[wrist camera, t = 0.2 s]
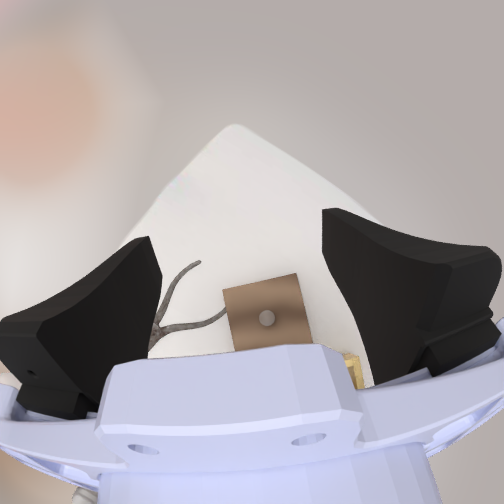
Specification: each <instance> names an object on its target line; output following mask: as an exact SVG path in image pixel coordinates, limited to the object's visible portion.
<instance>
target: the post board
mask: <svg viewBox="0 0 504 504" xmlns="http://www.w3.org/2000/svg"><path fill="white" fill-rule="evenodd" d="M222 291H223V296H224V301H225V306H226V311H227V315H228V320H229V325H230V330H231V334H232V339H233V344H234V348H235V351H242V350H249V349H257V348H263V347H270V346H276V345H282V344H313V342H312V338H311V333H310V329H309V325H308V320H307V316H306V312H305V307H304V303H303V299H302V295H301V291H300V287H299V283H298V279H297V275H296V273H294V274H290V275H286V276H281V277H277V278H273V279H268V280H264V281H260V282H255V283H251V284H246V285H242V286H237V287H232V288H228V289H223V290H222Z"/></svg>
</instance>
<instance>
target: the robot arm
mask: <svg viewBox="0 0 504 504" xmlns="http://www.w3.org/2000/svg"><path fill="white" fill-rule="evenodd" d="M322 253H323V256H324V258H325V261H326V264H327V266H328V269H329V271H330V273H331V275H332V277H333V278H334V280H335V282H336V284H337V286H338V288H339V289H340V291H341V293H342V295H343V297H344V298H345V300H346V302H347V304H348V306H349V308H350V310H351V312H352V314H353V316H354V319H355V321H356V324H357V327H358V330H359V332H360V335H361V338H362V341H363V344H364V347H365V350H366V354H367V357H368V361H369V364H370V368H371V372H372V375H373V380H374V384H375V386H373V387H369V388H364V389H355V388H354V385H353V382H352V380H351V377H350V374H349V372H348V369H347V366H346V364H345V361H344V358H343V356H342V354H341V353H339V352H337V351H335V350H332V349H330V348H328V347H326V346H324V345H321V344H316V343H313V344H282V345H276V346H270V347H263V348H257V349H249V350H242V351H234V352H226V353H217V354H207V355H197V356H185V357H171V358H153V359H147V358H148V347H149V341H150V336H151V331H152V327H153V323H154V319H155V315H156V311H157V307H158V303H159V299H160V295H161V287H162V273H161V270H160V267H159V265H158V262H157V259H156V256H155V253H154V250H153V247H152V244H151V241H150V238H149V236H146V237H140V238H136V239H134V240H132V241H130V242H129V243H127V244H126V245H125V246H123V247H122V248H121V249H119V250H118V251H117V252H116V253H114V254H113V255H112V256H111V257H109V258H108V259H107V260H106V261H104V262H103V263H102V264H101V265H99V266H98V267H97V268H95V269H94V270H93V271H92V272H90V273H89V274H88V275H86V276H85V277H83V278H82V279H81V280H79V281H78V282H76V283H74V284H73V285H72V286H70V287H68V288H67V289H65V290H63V291H62V292H60V293H58V294H56V295H54V296H53V297H51V298H49V299H47V300H45V301H43V302H41V303H39V304H37V305H35V306H32V307H30V308H28V309H25V310H23V311H20V312H18V313H15V314H12V315H9V316H6V317H4V318H3V319H2V320H1V321H0V360H1V362H2V363H3V364H4V365H5V366H6V367H7V368H8V370H9V371H10V372H11V373H12V374H13V375H14V376H15V377H16V378H17V379H18V380H19V382H20V383H22V385H21V388H20V390H18V389H17V388H15V387H13V386H10V385H6V384H2V383H0V449H1V450H3V451H4V452H6V453H7V454H9V455H10V456H12V457H13V458H15V459H16V460H18V461H20V462H22V463H23V464H25V465H27V466H29V467H31V468H34V469H36V470H38V471H41V472H43V473H45V474H47V475H50V476H52V477H55V478H58V479H60V480H63V481H65V482H68V483H70V484H73V485H76V486H79V487H82V488H85V489H88V490H91V491H95V492H98V498H97V504H443V503H442V500H441V497H440V494H439V491H438V488H437V484H436V482H435V478H434V476H433V473H432V470H431V467H430V464H429V462H428V459H427V458H429V457H431V456H433V455H435V454H436V453H438V452H440V451H442V450H443V449H445V448H447V447H449V446H450V445H452V444H453V443H455V442H457V441H458V440H460V439H461V438H463V437H464V436H466V435H468V434H469V433H470V432H472V431H473V430H475V429H476V428H478V427H479V426H481V425H482V424H483V423H485V422H486V421H487V420H489V419H490V418H491V417H493V416H494V415H495V414H497V413H498V412H499V411H500V410H502V409H503V408H504V317H503V318H502V319H500V320H499V321H498V322H497V323H496V324H494V323H493V322H492V320H491V319H490V318H492V316H493V312H492V310H491V309H490V308H489V307H488V306H489V304H490V302H491V300H492V298H493V295H494V293H495V291H496V289H497V286H498V284H499V281H500V278H501V272H502V264H501V259H500V258H499V256H498V255H497V254H496V253H494V252H493V251H492V250H491V249H490V248H488V247H486V246H470V245H457V244H450V243H443V242H437V241H432V240H427V239H423V238H419V237H415V236H411V235H408V234H404V233H401V232H398V231H395V230H392V229H390V228H387V227H384V226H382V225H379V224H377V223H374V222H372V221H369V220H367V219H365V218H362V217H360V216H358V215H355V214H353V213H351V212H348V211H345V210H343V209H339V208H330V209H322Z"/></svg>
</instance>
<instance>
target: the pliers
mask: <svg viewBox="0 0 504 504" xmlns="http://www.w3.org/2000/svg"><path fill="white" fill-rule="evenodd" d="M200 263H201V261H200V260H198V261H196V262H194V263H192V264H190V265H189V266H187V267H186V268H185V269H183V270H182V271H181V272H180V273H179V274H178V275H177V276H176V277H175V279H174V280H173V281H172V283H171V285H170V287H169V288H168V291H167V293H166V295H165V297H164V300H163V302H162V304H161V306H160V308H159V310H158V312H157V313H156V315H155V319H154V323H153V327H152V331H151V336H150V341H149V347H148V352H149V350H150V349H151V348H152V347H153V346H154V345H155V344H156V343H157V341H158V340H159V339H160V338H162V337H164V336H165V335H167V334H169V333H171V332H175V331H180V330H187V329H194V328H199V327H204V326H206V325H209V324H211V323H213V322H214V321H216V320H217V319H219V318H220V317H222V316H223V315H224V314H225V313H226V312H227V311H226V307H225V308H224V309H223V310H222V311H221V312H219V313H218V314H217V315H215V316H214V317H212V318H210V319H208V320H205V321H202V322H197V323H186V324H173V325H169V326H165V327H162V328H160V327H159V326H158V324H159V323H160V321H161V319H162V318H163V316H164V314H165V312H166V309H167V307H168V304H169V301H170V298H171V295H172V293H173V290H174V288H175V286H176V284H177V283H178V281H179V280H180V279H181V278H182V276H183V275H184V274H185V273H186V272H188V271H189V270H190V269H192V268H193V267H195V266H197V265H198V264H200Z"/></svg>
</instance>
